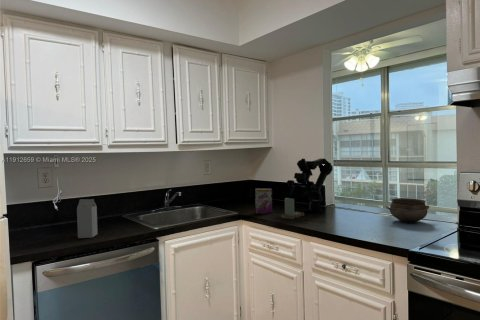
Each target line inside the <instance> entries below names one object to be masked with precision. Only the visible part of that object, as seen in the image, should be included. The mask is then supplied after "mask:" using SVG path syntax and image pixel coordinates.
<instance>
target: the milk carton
mask: <svg viewBox="0 0 480 320" xmlns="http://www.w3.org/2000/svg"><path fill="white" fill-rule="evenodd" d="M78 201H79V202H78V204H77V207H76V216H77V218H76V220H77V221H76V222H77V238H78V239H87V238H88V239H91V238H94V237H95V236H97V235H98V213H97V212H98V211H97V210H98V207H97V203H96V202H95V199H94V198H91V199H90V198H86V199H82V198H81V199H79V200H78Z"/></svg>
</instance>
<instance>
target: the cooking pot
mask: <svg viewBox="0 0 480 320" xmlns="http://www.w3.org/2000/svg"><path fill="white" fill-rule="evenodd" d="M390 200H391V203H390V206H388V207H386V209H387V210H389V213H390V214H391V215H392V216H393V217H394V218H395V219H397V220H398V221H400V222H401V223H404V222H405V223H404V224H415V223H417V222H419V221H421V220H423V219H425V218H426V216H427V215H428V210H429V209H430V205H426V202H427V201H426V200H424V199H421V198H419V199H418V198H412V197H411V198H410V197H407V198H405V197H400V198H399V197H397V198H395V197H394V198H391V199H390Z"/></svg>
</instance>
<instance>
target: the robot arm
mask: <svg viewBox="0 0 480 320" xmlns="http://www.w3.org/2000/svg"><path fill="white" fill-rule="evenodd" d="M322 164H325V165H324V166H323V165H322ZM296 165H297V167H298V169H299V171H300V172H294V176H293V178H294V179H295V180H292V179H288V180H287V181H286V184H287V186H288V187H289V196H292V194H293V193H294V192H295V190H296V189H297V188H296V187H303V188H304V190H303V192H302V195H301V196H302V197H305V196H307V201H308V202H309V210H310V211H311V212H322V209H321V205H322V204H321V203H322V202H323V200H324V198H323V195H322V192H321V190H322V187H323V185H324V183H325V181H326V178H327V177H328V176H329V175H330V174H331V173H332V171H333V169H334V168H333V165H332V164H331V162H329V161H328V160H327V159H326V158H318V159H315V160H306V158H300V160H298V161H297V163H296ZM317 167H318V169H319V175H318V178H317V179H316V181H315V182H314V181H311V180H310V177H311V176H313V172H312V171H314V170H316V169H317ZM295 181H296V182H295Z"/></svg>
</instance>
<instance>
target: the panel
mask: <svg viewBox="0 0 480 320" xmlns="http://www.w3.org/2000/svg"><path fill="white" fill-rule="evenodd" d="M294 212H295V198H291V197H285V198H284V215H289V216H294Z"/></svg>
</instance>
